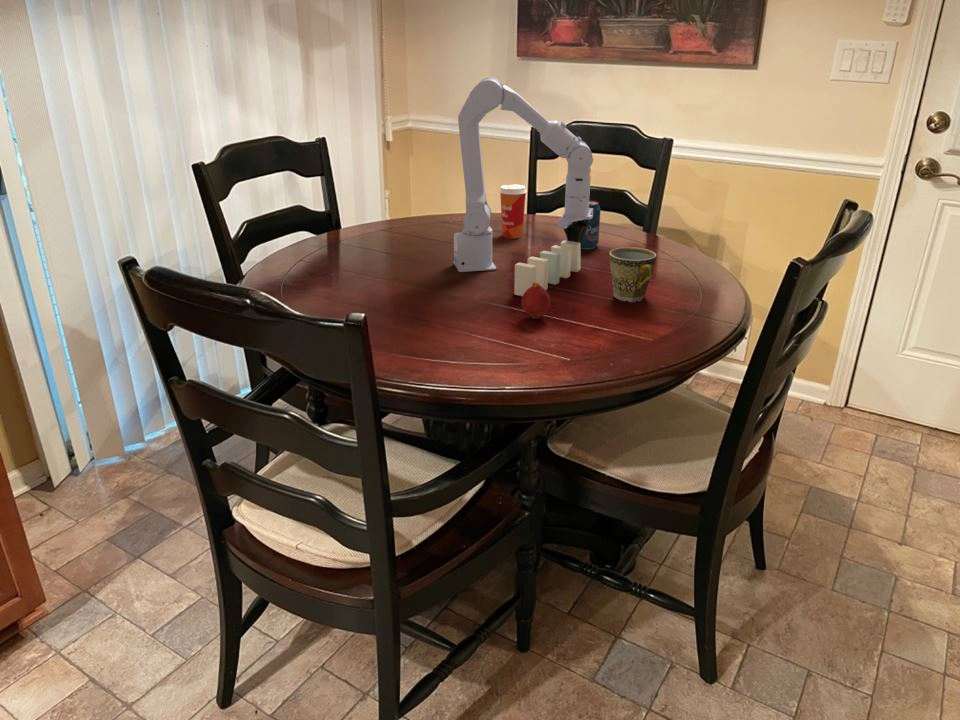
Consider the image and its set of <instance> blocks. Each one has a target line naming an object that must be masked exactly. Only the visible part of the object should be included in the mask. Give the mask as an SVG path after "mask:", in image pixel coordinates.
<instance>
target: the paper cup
mask: <svg viewBox="0 0 960 720" xmlns="http://www.w3.org/2000/svg"><path fill="white" fill-rule="evenodd" d="M499 193H500V212H501V213H500V215H501V230H502V231H501V232H502V233H501V234H502V237H503V238H504V237H505V239H508V238H509V240H510V239H511V240H513V239H515V240H516V238H517V239H520V238H523V230H524V222H525V221H524V219H525V218H524V217H525V207H526V206H525V205H526V196H527V189H526V186H525V185H522V184H517V183H515V184H503V185H501V186H500V188H499Z"/></svg>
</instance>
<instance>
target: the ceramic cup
mask: <svg viewBox="0 0 960 720" xmlns="http://www.w3.org/2000/svg"><path fill="white" fill-rule="evenodd" d="M608 255H609V267H610V272H611V282H612V283H611V284H612V292H613V297H614V298H615V299H617V300H618V299H619V301H622V302H626V301H628V303H636V301H638V302H642V301H643V300H642V299H645V297H646V293H647V290H648V285H649V282H650V279H651V278H652V277H653V275H654V267H655V263H656V259H657V253H656V252H654V251H653V250H650V249H646V248H642V247H634V246H633V247H632V246H631V247H629V246H628V247H627V246H625V247H617V248H614V249H612V250H610V251H609V254H608Z"/></svg>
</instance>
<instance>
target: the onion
mask: <svg viewBox="0 0 960 720" xmlns="http://www.w3.org/2000/svg"><path fill="white" fill-rule="evenodd" d="M532 284H533V286H531V287H530V288H528V289H527V290H526V291H525V293H524V294H523V296H521V301H520V302H521V307H522V309H523V311H524V312H525V313H526V314H528V316H530V317H531V318H532V319H533V320H537V319H539V318H540V317H542V316H543V315H545V314H546V313H547V312H548V310H549V309H550V306H551V298H550V295H549V293H548V291H547V290H545V289H544V288H543V287H541V286H540V285H539V284H538V283H537V282H534V283H532Z"/></svg>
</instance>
